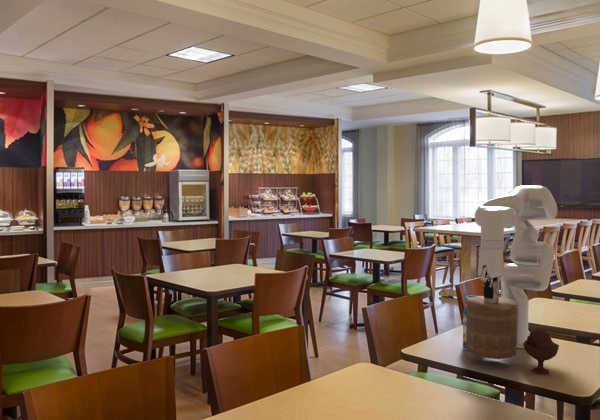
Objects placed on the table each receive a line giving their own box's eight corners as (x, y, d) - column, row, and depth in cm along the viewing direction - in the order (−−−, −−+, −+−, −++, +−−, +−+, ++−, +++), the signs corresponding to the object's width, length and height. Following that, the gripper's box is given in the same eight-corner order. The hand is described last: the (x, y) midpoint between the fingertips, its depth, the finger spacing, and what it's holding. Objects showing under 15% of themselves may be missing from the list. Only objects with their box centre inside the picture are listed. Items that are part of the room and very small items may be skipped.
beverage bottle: (484, 353, 201) (485, 300, 200) (461, 351, 205) (462, 298, 203) (486, 347, 209) (487, 295, 208) (463, 344, 212) (464, 293, 211)
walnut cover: (480, 340, 203) (481, 275, 201) (524, 350, 191) (525, 281, 189) (456, 350, 191) (457, 281, 189) (502, 362, 179) (503, 289, 177)
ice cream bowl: (562, 378, 176) (564, 333, 175) (526, 376, 179) (527, 331, 178) (554, 367, 187) (555, 324, 186) (519, 365, 189) (520, 322, 188)
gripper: (493, 241, 196) (492, 291, 198) (470, 246, 185) (469, 299, 186) (513, 243, 191) (512, 294, 192) (490, 248, 180) (490, 303, 181)
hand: (491, 296), depth 189 cm, fingers closed on walnut cover, 3 cm apart
